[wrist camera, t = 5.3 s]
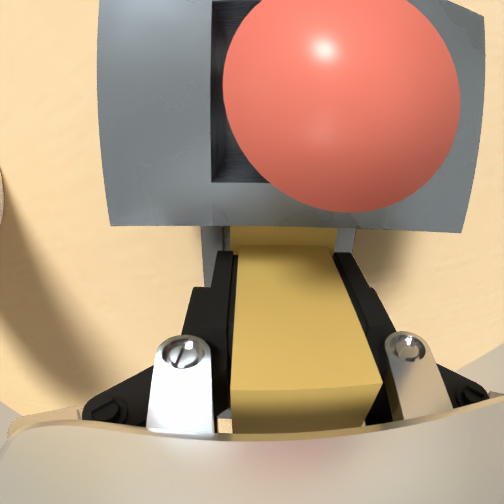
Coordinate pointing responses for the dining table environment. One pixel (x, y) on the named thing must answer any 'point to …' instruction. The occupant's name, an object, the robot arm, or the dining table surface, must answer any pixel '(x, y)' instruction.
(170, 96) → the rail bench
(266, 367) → the block
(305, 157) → the button
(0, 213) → the cup
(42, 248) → the dining table surface
